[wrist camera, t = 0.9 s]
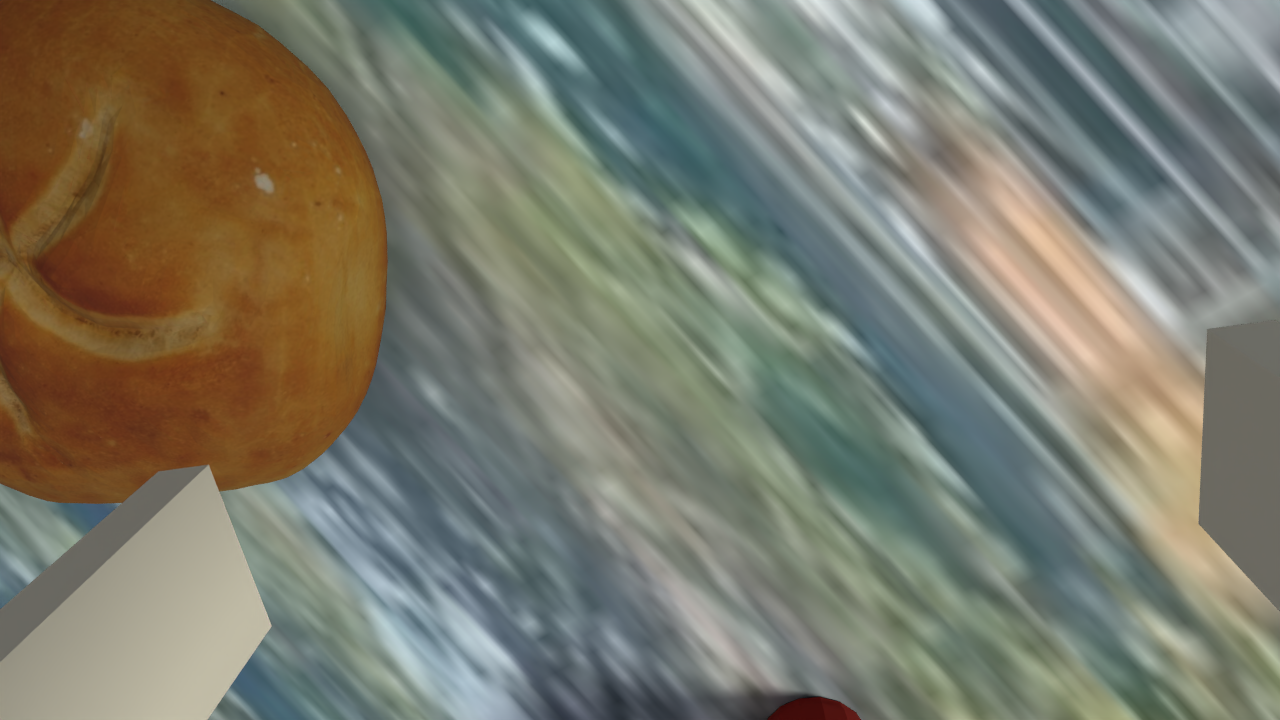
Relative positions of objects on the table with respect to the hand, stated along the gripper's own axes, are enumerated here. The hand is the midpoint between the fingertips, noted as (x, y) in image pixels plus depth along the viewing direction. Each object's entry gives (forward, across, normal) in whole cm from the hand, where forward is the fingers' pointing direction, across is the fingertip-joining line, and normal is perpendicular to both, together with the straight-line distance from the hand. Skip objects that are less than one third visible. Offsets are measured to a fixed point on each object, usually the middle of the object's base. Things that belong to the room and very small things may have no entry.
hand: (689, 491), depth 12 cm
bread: (+29, -25, 0) cm, 38 cm away
